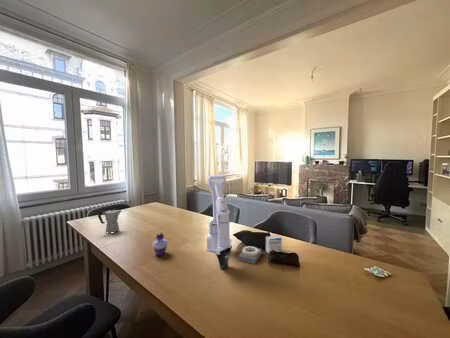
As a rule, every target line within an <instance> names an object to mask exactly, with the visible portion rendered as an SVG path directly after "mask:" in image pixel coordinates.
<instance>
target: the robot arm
mask: <svg viewBox="0 0 450 338" xmlns="http://www.w3.org/2000/svg"><path fill="white" fill-rule="evenodd" d="M226 185H227V177H226V175H225V174H222V175H220V174H219V175H208V177H207V186H208V187H207V188H208V190H210V191H211V193H212V216H213V217H212V218H211V219H210V220H209V222H208V234H207V235H206V251H208V252H214V253H215V256H216V257H217V260H218V264H220V265H222V266H224V263H225V256H226V253H227V252H224V251H228V260H229V258H230V253H231V250H232V248H233V244H232V239H231V238H230V223H231V222H232V221H231V219H232V214H231V211H230V209H229V208H228V207H229V205H228V202H227V199H226V198H225V197H224V196H225V195H224V189H225V187H226ZM220 265H219V266H220Z"/></svg>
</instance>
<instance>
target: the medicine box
mask: <svg viewBox="0 0 450 338" xmlns="http://www.w3.org/2000/svg"><path fill="white" fill-rule="evenodd" d="M282 243H283V240H282V237H281V236H280V235H272V236H271V235H270V236H265V252H266V253H268V254H269V252H270V251H272V250H274V251H278V252H281V253H282V246H283V244H282Z"/></svg>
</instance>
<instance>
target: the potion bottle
mask: <svg viewBox="0 0 450 338" xmlns="http://www.w3.org/2000/svg"><path fill="white" fill-rule="evenodd" d="M155 239H156V240H154V241H153V242H152V243H151V244H152V248H153V249H154V253H155V254H154V255H155V256H156V255H157V256H156V257H163V256H165V255H166V251H167V247H168V243H169V241H168V240H167V239H165V234H164V233H163V232H158V233H156V236H155ZM164 254H165V255H164ZM162 255H163V256H162Z"/></svg>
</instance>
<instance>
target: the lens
mask: <svg viewBox="0 0 450 338" xmlns="http://www.w3.org/2000/svg"><path fill="white" fill-rule="evenodd" d="M224 252H227V253H226V256H225V263H224V266H222V265H220V264H219V263H218V264H219V268H220V269H221V270H222V269H223V270H224V269H225V270H226V269H228V268H229V259H228V251H224Z"/></svg>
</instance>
